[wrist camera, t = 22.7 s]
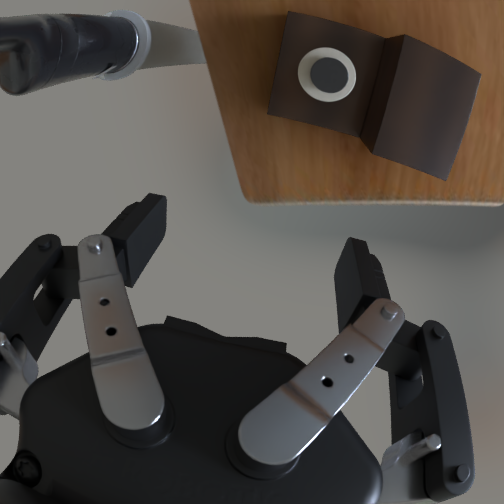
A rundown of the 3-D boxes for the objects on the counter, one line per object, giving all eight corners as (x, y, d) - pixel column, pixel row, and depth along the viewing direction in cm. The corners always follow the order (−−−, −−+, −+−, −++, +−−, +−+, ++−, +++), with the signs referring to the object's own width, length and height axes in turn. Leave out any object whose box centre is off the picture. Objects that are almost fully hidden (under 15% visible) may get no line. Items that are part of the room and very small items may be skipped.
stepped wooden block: (269, 110, 37) (260, 125, 29) (288, 14, 29) (286, -1, 21) (418, 154, 37) (446, 181, 29) (444, 68, 28) (481, 74, 20)
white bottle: (293, 86, 32) (292, 95, 22) (302, 47, 29) (305, 39, 19) (335, 97, 32) (351, 112, 22) (345, 58, 29) (366, 57, 19)
